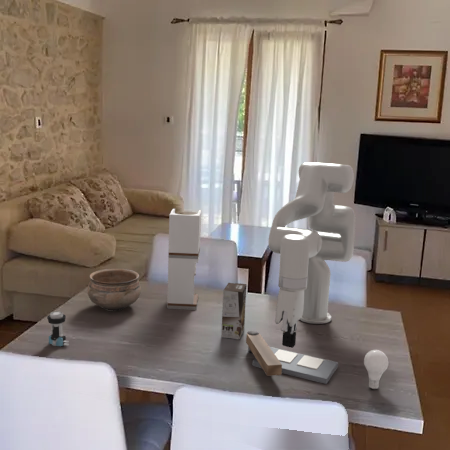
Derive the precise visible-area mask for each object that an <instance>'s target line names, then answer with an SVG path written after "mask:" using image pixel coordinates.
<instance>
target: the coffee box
mask: <svg viewBox="0 0 450 450" xmlns="http://www.w3.org/2000/svg"><path fill="white" fill-rule="evenodd" d="M246 298H247V284H246V283H239V282H238V283H236V282H235V283H234V282H228V283H227V284H226V286H225V288H224V289H223V294H222V311H221V312H222V314H221V335H220V337H221V338H225V339H235V340H240V339H241V337H242V335H243V333H244V331H245V321H246V320H245V319H246V301H247V299H246Z"/></svg>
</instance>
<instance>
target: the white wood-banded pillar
mask: <svg viewBox="0 0 450 450" xmlns="http://www.w3.org/2000/svg"><path fill="white" fill-rule="evenodd" d="M168 215H169V219H168V222H169V223H168V224H169V225H168V256H167V257H168V261H167V262H168V264H167V265H168V267H167V269H168V270H167V305H166V307H167V309H171V310H173V309H174V310H189V311H190V310H191V311H193V310H195V311H197V308H198V303H199V294H198V293H197V294H196V293H195V276H196V275H197V264H198V263H199V261H200V255H201V233H202V232H201V231H202V210H201V209H199V210H198V212H197V213H195V214H181V213H176V208H172V209H171V211H170V213H169V214H168Z"/></svg>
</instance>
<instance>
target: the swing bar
mask: <svg viewBox="0 0 450 450" xmlns="http://www.w3.org/2000/svg"><path fill="white" fill-rule="evenodd" d="M245 341H246V342H245V344H246V345H247V347H248V346H249V348H250V350H251V351H252V353H251V354H252V355H253V356H254V359H255V358H256V359H257V361H258V362H259V364H260V365H261V367H262V368H261V369H262V371H263V372H264V373H265V375H266V376H267V377H269V376H270V377H271V376H282V373H281V372H282V364H281V363H280V361H279V360H278V358H277V357H276V356H275V354H274V353H273V351H272V350H271V349H270V347H271V346H269V344H268V343H267V341H266V340H265V339H264V337H263V336H262V335H261V333H260V332H258V331H255V330H249V331H247V332H246V337H245Z"/></svg>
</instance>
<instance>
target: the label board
mask: <svg viewBox="0 0 450 450" xmlns="http://www.w3.org/2000/svg"><path fill="white" fill-rule="evenodd" d="M269 347H270V349H271V350H272V351H273V353H274V354H275V356H276V357H277V358H278V360H279V361H280V363H281V364H282V372H281V374H285V375H288V376H293V377H297V378H301V379H305V380H309V381H313V382H317V383H320V384H325V385H327V384H328V383H329V381H330V380H331V378H332V376H333V375H334V373H335V372H336V370H337V369H338V365H339V362H338V361H333V360H329V359H326V358H325V359H324V358H320V357H316V356H313V355H312V356H311V355H308V354H302V353H299V352H295V351H291V350H286V349H282V348H277V347H273V346H269ZM252 366H253V367H255V368H256V367H257V368H260V369H262V367H261V365H260V364H259V362H258V361H257V359H256V358H255V357H254V359H253V360H252Z"/></svg>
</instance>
